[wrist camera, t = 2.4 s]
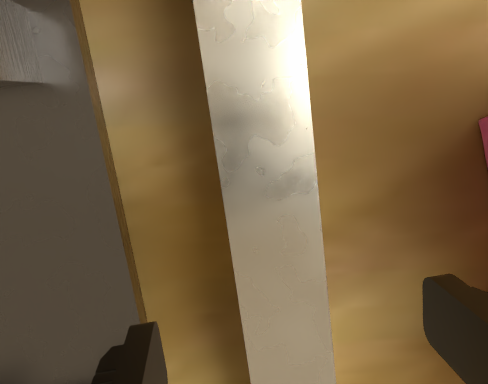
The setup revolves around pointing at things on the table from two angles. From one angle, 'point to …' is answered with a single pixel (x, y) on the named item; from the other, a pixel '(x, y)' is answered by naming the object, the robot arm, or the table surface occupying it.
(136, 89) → the table surface
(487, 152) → the gum box
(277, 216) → the pale grey long bar
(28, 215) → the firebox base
